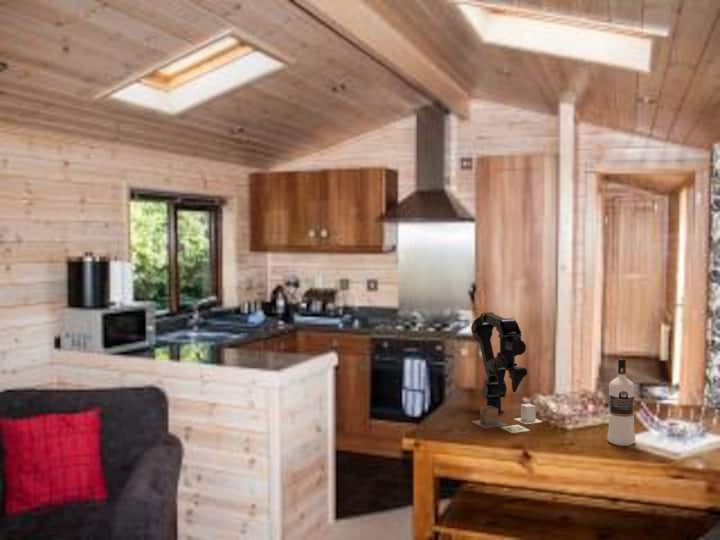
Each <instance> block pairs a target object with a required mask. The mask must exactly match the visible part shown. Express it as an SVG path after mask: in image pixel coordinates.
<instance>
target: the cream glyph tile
mask: <svg viewBox="0 0 720 540" xmlns="http://www.w3.org/2000/svg"><path fill="white" fill-rule="evenodd" d="M500 428H501V429H503V430H504V431H506V432H507V431H508V432H509V433H511V434H517V433H523V432H529V431H531V430H530V429H528V428H527V427H524V426H523V425H520V424H512V425H506V426H500Z"/></svg>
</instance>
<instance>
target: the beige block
mask: <svg viewBox="0 0 720 540" xmlns="http://www.w3.org/2000/svg"><path fill="white" fill-rule="evenodd" d="M536 415H537V414H536V405H534V404H531V403H522V404H520V418H521V420H523V421H526V422H532V421H536V419H537V417H536Z"/></svg>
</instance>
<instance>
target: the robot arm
mask: <svg viewBox="0 0 720 540" xmlns="http://www.w3.org/2000/svg"><path fill="white" fill-rule="evenodd" d="M495 328H496V331H497V332H498V336H497V337H498V338H499V351H498V352H497V353H496V357H495V355H494V350H493V345H492V342H491V339H492V336H493V331H494V329H495ZM470 329H471V333H472V336H473V338H474V339H475V340H476V341H477V343H478V344H479V348H480V353H481V357H482V362H483V366H484V371H485V374H486V376H485V378H484V381H483V382H484V383H483V384H484V385H483V387H482V389H481V392H480V393H481V397H482V398H484V399H485V406H493V407H495V408H498V414H501V413H504V412H505V411H504V410H503V409H502V398H506V395H507V394H506V393H507V389H508V388H507V383H506V381H505V377H506V372H507V371H508V374H509V375H508V377H509V378H510V380H511V390H512V393H517V390H518V387H519V385H520V384H521V382H522V381H523V379H524V378H525V377H526V376H528V368H526V367H523V366H518V363H516V361H515V360H516V359H515V358H516V357H517V356H521V355H523V354H525V352H526V351H527V350H526V349H527V345H526V343H525V342H524V341H523V340H522V330H521V328H520V326H519V324H518V321H517V320H516V319H515V318H505V317H502V316H499V315H497V314H496V313H494V312H483V313H481V314H480V315H479V316H478V317H477V318H476V319H475V320H473V322H472V325H471V326H470Z"/></svg>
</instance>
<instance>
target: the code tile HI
mask: <svg viewBox="0 0 720 540" xmlns="http://www.w3.org/2000/svg"><path fill="white" fill-rule="evenodd" d="M514 420H515V421H517V422H520V423H522V424H523V425H524V424H525V425H530V424H536V423H537V424H538V423H543V422H542V420H540V419H538V418H536V421H532V422H526V421H523V420H521V417H518V418H514Z"/></svg>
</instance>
